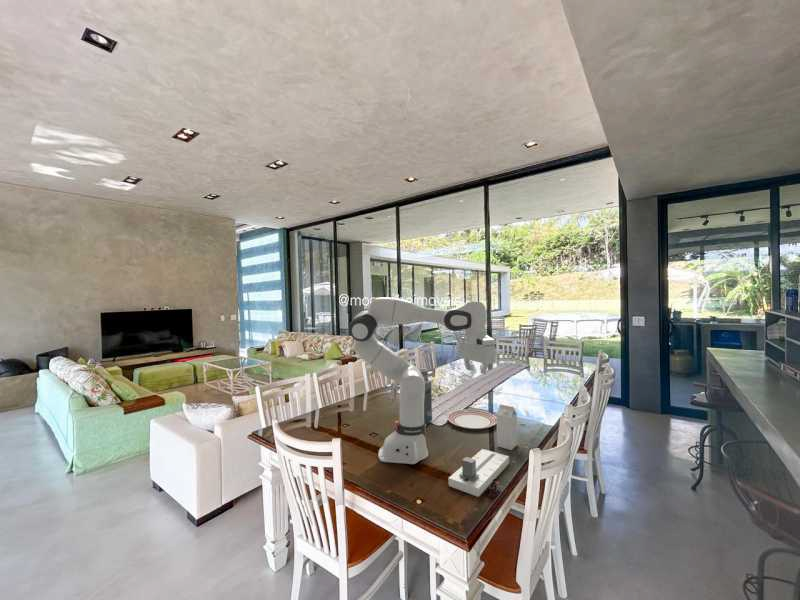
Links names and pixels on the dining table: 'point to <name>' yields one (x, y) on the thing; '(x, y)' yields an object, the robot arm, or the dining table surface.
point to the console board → (480, 472)
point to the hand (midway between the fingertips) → (475, 371)
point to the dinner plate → (472, 419)
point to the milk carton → (506, 427)
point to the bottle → (427, 396)
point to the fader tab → (469, 469)
